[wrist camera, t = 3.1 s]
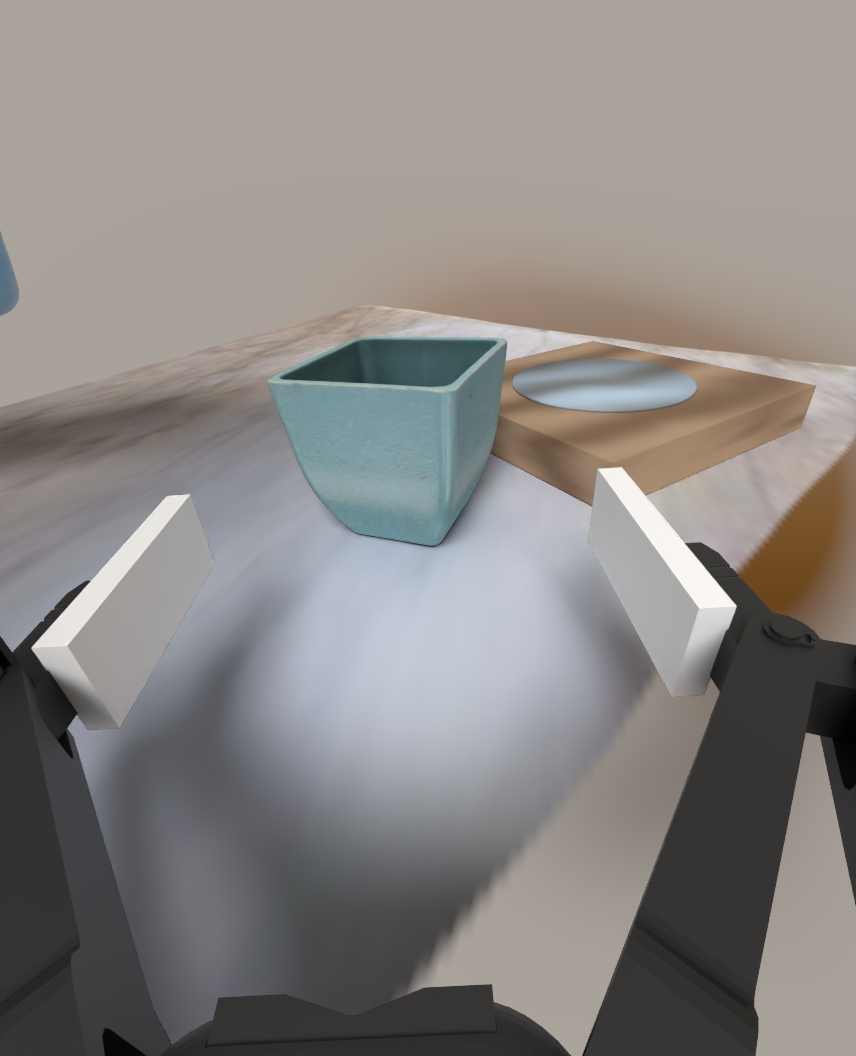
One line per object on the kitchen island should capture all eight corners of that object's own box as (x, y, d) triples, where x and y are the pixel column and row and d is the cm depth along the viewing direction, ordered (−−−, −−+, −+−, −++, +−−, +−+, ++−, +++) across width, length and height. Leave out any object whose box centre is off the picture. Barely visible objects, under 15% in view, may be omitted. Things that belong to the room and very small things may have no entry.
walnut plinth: (420, 416, 42) (418, 378, 40) (589, 371, 50) (593, 339, 48) (605, 512, 27) (613, 459, 25) (800, 427, 35) (817, 382, 34)
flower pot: (300, 548, 26) (259, 377, 21) (376, 476, 33) (358, 334, 28) (458, 580, 23) (452, 388, 18) (505, 493, 30) (510, 337, 25)
